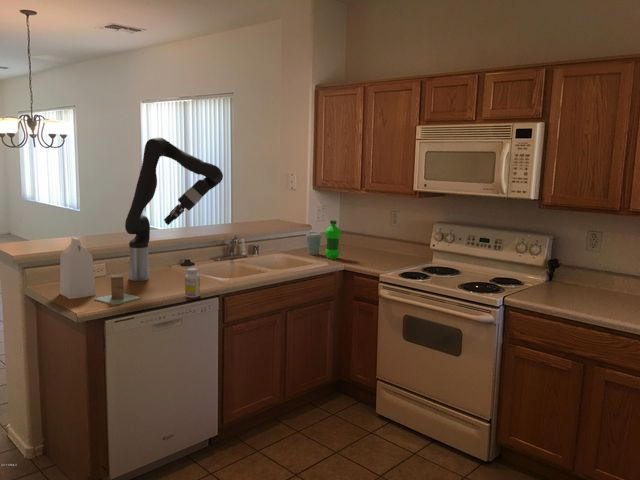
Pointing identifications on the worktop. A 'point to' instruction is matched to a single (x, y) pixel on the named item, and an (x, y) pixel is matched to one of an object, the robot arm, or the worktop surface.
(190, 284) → the supplement bottle
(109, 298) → the sage board
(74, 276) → the milk
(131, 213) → the robot arm
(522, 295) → the worktop surface
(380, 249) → the worktop surface
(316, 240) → the disposable coffee cup
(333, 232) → the plastic bottle
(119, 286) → the walnut block
